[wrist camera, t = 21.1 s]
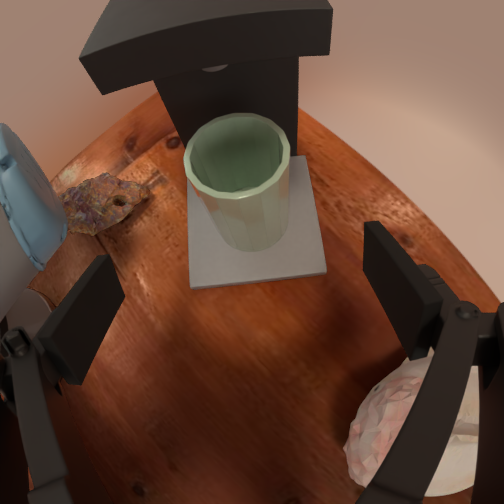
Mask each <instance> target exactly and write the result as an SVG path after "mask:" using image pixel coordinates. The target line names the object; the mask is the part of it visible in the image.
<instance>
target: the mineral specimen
mask: <svg viewBox="0 0 504 504" xmlns="http://www.w3.org/2000/svg"><path fill="white" fill-rule="evenodd" d="M149 193H150V190H149V189H148V188H147V187H145V186H142V185H139V184H137V183H135V182H132V181H122V180H120V179H118V178H116V177H114V176H111V175H110V174H109V173H102V174H101V175H100V176H98V177H95V179H93V178H91V179H87V180H85V181H83V183H81V184H80V185H78V186H77V187H72V188H69V189H67V191H66V192H65V193H63V194H62V195H60V196H59V197H58V198H59V200H60V202H61V204H62V206H63V208H64V211H65V213H66V217H67V221H68V230H70V232H71V233H72V234H73V235H75V233H76V232H78V233H79V232H82V233H84V234H89V235H91V236H93V235H95V234H97V233H99V232H101V231H103V230H104V229H106V228H108V227H110V226H112V225H114V224H117V223H118V222H120V221H121V220H124V217H125V216H127V215H128V213H129V212H130V211H131V209H132V208H133V207H134V206H135V204H138V203H140V202H141V200H142V199H143V198H146V197H147V196H149ZM140 199H141V200H140ZM121 200H122V201H123V202H125V205H124V206H122V207H121V206H119V202H120V201H121Z"/></svg>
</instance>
